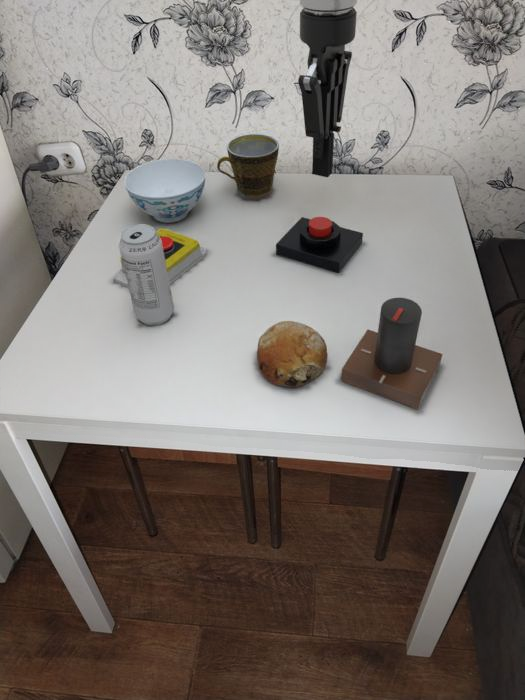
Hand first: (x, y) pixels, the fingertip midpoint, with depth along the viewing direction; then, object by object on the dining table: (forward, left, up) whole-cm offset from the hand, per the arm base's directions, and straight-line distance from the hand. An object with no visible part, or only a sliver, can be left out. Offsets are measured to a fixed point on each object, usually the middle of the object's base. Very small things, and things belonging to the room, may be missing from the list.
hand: (322, 173), depth 94 cm
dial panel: (-22, +23, -14) cm, 35 cm away
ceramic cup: (+21, -11, -15) cm, 28 cm away
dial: (-22, +23, -12) cm, 34 cm away
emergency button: (+22, +17, -15) cm, 31 cm away
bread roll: (-9, +28, -15) cm, 33 cm away
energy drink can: (+15, +28, -15) cm, 35 cm away
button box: (0, 0, -14) cm, 14 cm away
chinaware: (+31, +2, -15) cm, 34 cm away
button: (0, 0, -11) cm, 11 cm away
